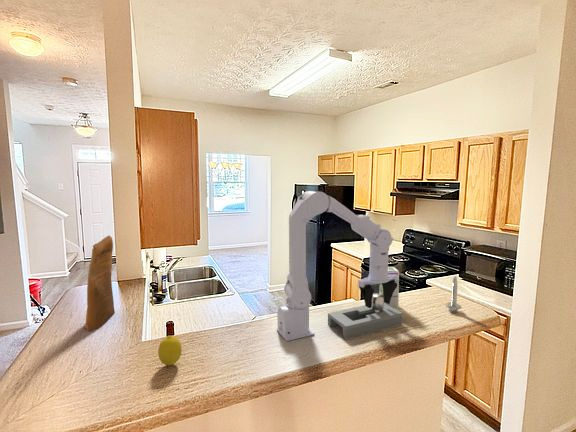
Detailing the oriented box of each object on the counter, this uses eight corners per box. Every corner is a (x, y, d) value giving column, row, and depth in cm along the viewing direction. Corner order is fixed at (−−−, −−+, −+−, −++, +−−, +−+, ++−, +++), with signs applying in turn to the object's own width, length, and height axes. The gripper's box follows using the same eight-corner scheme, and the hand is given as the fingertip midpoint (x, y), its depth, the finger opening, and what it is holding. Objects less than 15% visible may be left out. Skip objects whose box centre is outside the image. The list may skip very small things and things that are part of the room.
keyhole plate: (345, 339, 90) (345, 326, 89) (327, 324, 99) (327, 313, 99) (402, 324, 99) (402, 312, 98) (381, 312, 108) (381, 301, 107)
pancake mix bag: (124, 307, 114) (119, 234, 110) (101, 332, 95) (93, 244, 92) (105, 309, 113) (99, 234, 109) (77, 334, 94) (69, 245, 91)
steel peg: (375, 325, 98) (376, 298, 97) (368, 320, 102) (368, 294, 101) (385, 323, 100) (386, 296, 99) (377, 318, 104) (378, 292, 103)
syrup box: (398, 309, 110) (400, 270, 108) (382, 309, 110) (383, 270, 109) (393, 303, 116) (395, 266, 114) (378, 303, 116) (379, 266, 114)
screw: (452, 314, 106) (442, 309, 110) (464, 313, 107) (454, 307, 111) (454, 278, 104) (444, 274, 109) (466, 277, 105) (456, 273, 110)
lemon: (174, 356, 82) (173, 328, 81) (186, 364, 78) (185, 334, 77) (155, 366, 77) (153, 336, 77) (166, 375, 74) (164, 344, 73)
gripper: (387, 259, 105) (386, 297, 107) (352, 264, 99) (352, 304, 101) (402, 264, 99) (401, 304, 100) (366, 269, 93) (365, 312, 95)
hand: (377, 304), depth 100 cm, fingers open, 7 cm apart
